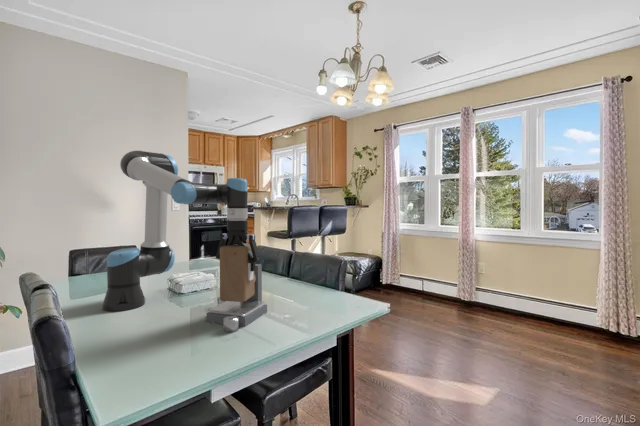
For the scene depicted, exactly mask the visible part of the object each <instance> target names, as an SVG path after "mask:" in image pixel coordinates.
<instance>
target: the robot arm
mask: <svg viewBox="0 0 640 426" xmlns="http://www.w3.org/2000/svg"><path fill="white" fill-rule="evenodd" d="M119 167H120V169H121V172H122V173H123V175H125V176H126V177H128V178H130V179H131V180H135V181H141V182H142V184H143V185H144V186H145V216H144V218H145V221H144V240H143V242H142V243H141V244H140V248H139V247H127V248H121V249H117V250H114V251H110V253H108V255H107V258H106V278H107V281H106V282H107V283H106V284H107V290H106V293H105V296H104V300H103V302H102V310H103V311H105V312H106V311H107V312H123V311H129V310H133V309H137V308H140V307H141V306H143V305H145V303H146V297H145V295H144V292H143V289H142V286H141V278H145V277H149V276H154V275H160V274H163V273H167V272H168V271H170V270H171V269H172V268H173V266H174V263H175V252H174V250H173V248H171V247H170V243H168V242H167V224H168V223H167V216H168V195H170V196H171V199H173V201H174V202H175V204H180V205H226V219H228V220H227V221H226V230H227V233H226V232H224V233H220V235H219V243H218V246H217V251H216V253H215V259H216V260H219V261H220V247H222V246H226V245H240V246H248V244H250V247H251V250H250V251H249V252H248V259H249V261H250V262H249V263H248V281H250V280H253V279H254V274H253V271H255V264H256V263H257V262H258V261H260V260H261V255H260V253H259V249H258V246H257V243H256V234H254V233H253V234H249V233H248V228H249V226H248V225H249V223H248V222H249V221H248V220H247V219H248V218H249V214H248V212H249V210H248V207H249V206H248V193H249V189H248V180H247V179H246V178H241V177H240V178H239V177H234V178H233V177H229V178H227V179H226V183H225V184H221V183H220V184H218V183H216V184H215V183H214V184H213V183H199V182H193V181H190V180H188V179H185V178H183V177H181V176H179V175H178V174H179V166H178V163H177V161H176V159H174V157H173V156H171V155H169V154H164V153H158V152H152V151H143V150H132V151H129V152H126V153H125V154H124V155H122V158H121V159H120V165H119ZM227 239H228V240H227ZM247 240H248V241H247Z"/></svg>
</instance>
